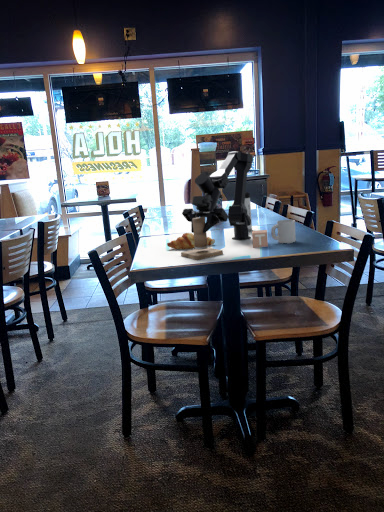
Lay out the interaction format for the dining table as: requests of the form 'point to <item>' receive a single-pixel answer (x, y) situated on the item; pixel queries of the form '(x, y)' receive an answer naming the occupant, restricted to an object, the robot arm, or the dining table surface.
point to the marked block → (260, 238)
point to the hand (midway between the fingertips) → (198, 232)
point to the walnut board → (201, 253)
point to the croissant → (187, 242)
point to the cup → (284, 231)
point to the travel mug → (248, 208)
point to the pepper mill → (199, 233)
